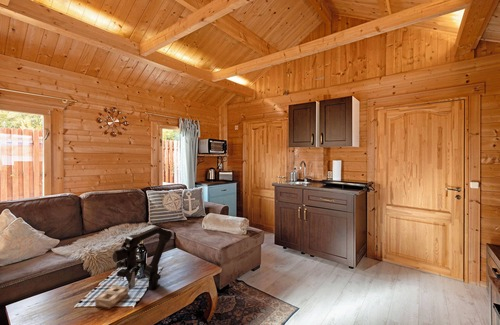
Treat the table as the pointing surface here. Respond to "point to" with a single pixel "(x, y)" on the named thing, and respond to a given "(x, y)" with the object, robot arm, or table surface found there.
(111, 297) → the bore block
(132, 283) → the peg
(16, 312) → the table surface
